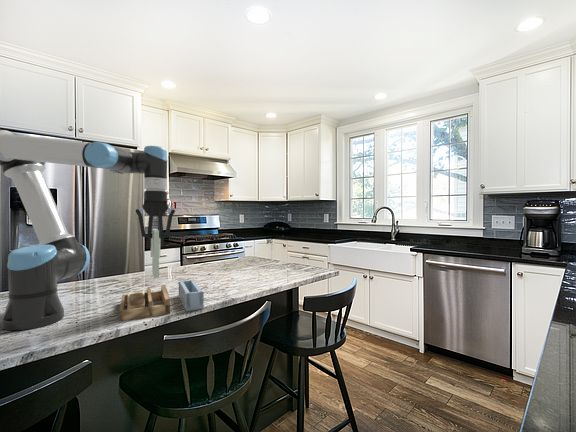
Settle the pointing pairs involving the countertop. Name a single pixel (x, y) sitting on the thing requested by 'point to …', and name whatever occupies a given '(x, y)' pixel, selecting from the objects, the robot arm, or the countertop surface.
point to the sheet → (155, 253)
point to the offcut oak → (135, 305)
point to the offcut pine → (135, 293)
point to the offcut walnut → (136, 299)
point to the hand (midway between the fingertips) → (155, 256)
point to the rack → (150, 309)
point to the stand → (191, 295)
